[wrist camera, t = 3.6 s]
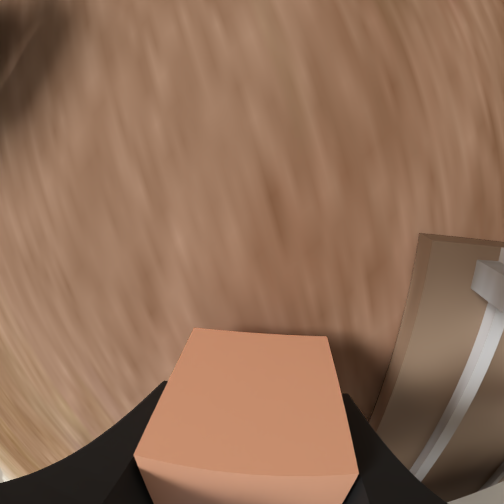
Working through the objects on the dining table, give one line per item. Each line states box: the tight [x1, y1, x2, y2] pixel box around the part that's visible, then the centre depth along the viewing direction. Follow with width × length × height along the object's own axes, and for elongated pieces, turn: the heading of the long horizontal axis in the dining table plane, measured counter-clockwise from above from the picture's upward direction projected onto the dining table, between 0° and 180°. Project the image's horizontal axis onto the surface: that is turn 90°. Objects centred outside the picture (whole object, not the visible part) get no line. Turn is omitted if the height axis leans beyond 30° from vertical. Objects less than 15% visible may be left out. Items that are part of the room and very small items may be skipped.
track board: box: [369, 233, 504, 502], centre depth 11 cm, size 30×16×3 cm, turn 178°
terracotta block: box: [134, 328, 359, 504], centre depth 7 cm, size 4×4×5 cm
